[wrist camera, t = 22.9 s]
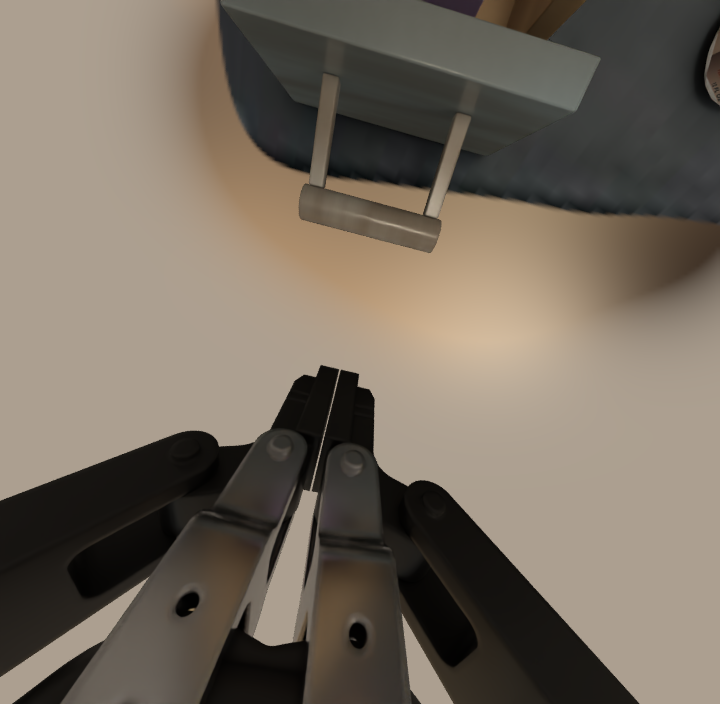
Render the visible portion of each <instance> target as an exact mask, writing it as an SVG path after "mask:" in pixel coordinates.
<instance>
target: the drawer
mask: <svg viewBox="0 0 720 704" xmlns="http://www.w3.org/2000/svg"><path fill="white" fill-rule="evenodd" d="M585 1H586V0H484V1H483V3H482V5H481V7H480V9H479V11H478V13H477V15H476V17H472V16H469V15H466V14H462V13H459V12H456V11H453V10H450V9H447V8H444V7H440V6H437V5H434V4H431V3H428V2H425V1H421V0H220V2H221V5H222V6H223V8H224V9H225V10H226V12H227V13H228V14H229V16H230V17H231V18H232V20H233V21H234V22H235V24H236V25H237V26H238V28H239V29H240V30H241V32H242V33H243V34H244V35H245V37H246V38H247V39H248V41H249V42H250V43H251V45H252V46H253V47H254V49H255V50H256V51H257V53H258V54H259V55H260V57H261V58H262V59H263V61H264V62H265V63H266V65H267V66H268V67H269V69H270V70H271V71H272V73H273V74H274V75H275V77H276V78H277V79H278V81H279V82H280V83H281V85H282V86H283V87H284V88H285V90H286V91H287V92H288V94H289V95H290V96H291V98H292V99H293V100H294V101H295V102H299V103H302V104H306V105H309V106H313V107H316V108H318V115H317V123H316V131H315V139H314V147H313V155H312V163H311V171H310V179H309V184H310V185H309V184H304V186H303V188H302V190H301V194H300V200H299V216H300V218H301V219H302V220H306V221H309V222H313V223H317V224H321V225H325V226H328V227H333V228H336V229H340V230H344V231H347V232H351V233H355V234H359V235H363V236H367V237H370V238H374V239H378V240H382V241H386V242H390V243H393V244H397V245H401V246H405V247H409V248H413V249H416V250H420V251H424V252H428V253H431V252H432V250H433V248H434V247H435V245H436V243H437V240H438V237H439V233H440V230H441V220H439V219H436V218H438V216H439V213H440V210H441V207H442V204H443V201H444V198H445V195H446V192H447V189H448V186H449V183H450V180H451V177H452V174H453V171H454V168H455V165H456V162H457V159H458V156H459V153H460V150H461V149H463V150H466V151H470V152H473V153H476V154H480V155H483V156H489V155H491V154H493V153H495V152H497V151H498V150H500V149H502V148H504V147H506V146H508V145H510V144H512V143H514V142H516V141H518V140H520V139H522V138H524V137H526V136H528V135H530V134H532V133H534V132H536V131H538V130H540V129H542V128H544V127H546V126H548V125H550V124H552V123H554V122H556V121H558V120H560V119H562V118H564V117H566V116H568V115H570V114H572V113H574V112H575V111H576V110H577V108H578V106H579V104H580V102H581V100H582V98H583V96H584V93H585V91H586V89H587V87H588V85H589V83H590V81H591V79H592V76H593V74H594V72H595V70H596V68H597V66H598V64H599V62H600V59H601V58H600V57H598V56H595V55H592V54H589V53H585V52H582V51H579V50H576V49H573V48H570V47H566V46H563V45H560V44H557V43H554V42H551V41H548V40H547V39H548V38H549V37H550V36H551V35H552V34H553V33H554V32H555V31H556V30H557V29H558V28H559V27H560V26H561V25H562V24H563V23H564V22H565V21H566V20H567V19H568V18H569V17H570V16H571V15H572V14H573V13H574V12H575V11H576V10H577V9H578V8H579V7H580V6H581V5H582V4H583V3H584V2H585ZM336 113H337V114H341V115H344V116H348V117H351V118H355V119H358V120H362V121H365V122H369V123H372V124H376V125H379V126H382V127H386V128H389V129H393V130H396V131H400V132H403V133H407V134H410V135H414V136H417V137H421V138H424V139H428V140H431V141H435V142H438V143H442V144H444V147H443V151H442V154H441V157H440V160H439V164H438V167H437V170H436V173H435V177H434V180H433V183H432V186H431V190H430V193H429V196H428V199H427V203H426V206H425V209H424V212H423V215H420V214H417V213H412V212H409V211H406V210H402V209H398V208H395V207H391V206H387V205H383V204H380V203H376V202H372V201H369V200H365V199H361V198H358V197H354V196H350V195H346V194H343V193H339V192H335V191H331V190H328V189H324V188H325V184H326V178H327V171H328V164H329V158H330V151H331V144H332V138H333V131H334V125H335V118H336Z"/></svg>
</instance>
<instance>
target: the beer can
mask: <svg viewBox="0 0 720 704" xmlns="http://www.w3.org/2000/svg"><path fill="white" fill-rule="evenodd" d="M704 79H705V87H706V89H707V91H708V93H709V95H710V97H711V99H712V100H713V101H714V102H716V103H717V104H718V105H720V28H719V29H718V31H717V33H716V35H715V37H714V40H713V42H712V45H711V47H710V49H709V52H708V55H707V61H706V67H705V73H704Z"/></svg>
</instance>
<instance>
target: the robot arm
mask: <svg viewBox="0 0 720 704" xmlns="http://www.w3.org/2000/svg"><path fill="white" fill-rule="evenodd" d="M338 372H339V369H336V368H331V367H327V366H323V365H321V366H320V368H319V371H318V374H317V376H316V377H312V376H308V375H303V376H301V377H300V378H298V379H297V380H295V381H294V383H293V386H292V388H291V390H290V392H289V393H288V395H287V397H286V400H285V401H284V403H283V405H282V407H281V409H280V412H279V413H278V416H277V417H276V419H275V421H274V423H273V425H272V427H271V429H270V430H269V431H267V432H265V433H263V434H261V435H260V436H259V437H258V438H257V440H256V441H255V442H253V443H250V444H246V445H239V446H221V447H219V445H218V442H217V440H216V439H215V438H214V437H213V436H212V435H210V434H208V433H206V432H202V431H185V432H181V433H177V434H175V435H172V436H169V437H167V438H164V439H161V440H159V441H156V442H153V443H151V444H148V445H146V446H143V447H140V448H138V449H135V450H132V451H130V452H127V453H124V454H122V455H119V456H117V457H114V458H112V459H109V460H106V461H104V462H101V463H98V464H96V465H93V466H90V467H88V468H85V469H82V470H80V471H78V472H75V473H72V474H70V475H67V476H64V477H62V478H59V479H56V480H54V481H51V482H48V483H46V484H43V485H41V486H38V487H35V488H33V489H30V490H27V491H25V492H22V493H19V494H17V495H14V496H12V497H9V498H6V499H4V500H1V501H0V677H1V676H3V675H4V674H6V673H7V672H8V671H10V670H11V669H13V668H14V667H16V666H17V665H19V664H20V663H22V662H23V661H25V660H26V659H28V658H29V657H31V656H32V655H33V654H35V653H37V652H38V651H39V650H41V649H43V648H44V647H46V646H47V645H49V644H50V643H51V642H53V641H54V640H56V639H57V638H59V637H60V636H62V635H63V634H65V633H66V632H68V631H69V630H70V629H72V628H74V627H75V626H77V625H78V624H80V623H81V622H83V621H84V620H86V619H87V618H88V617H90V616H92V615H93V614H95V613H96V612H97V611H99V610H100V609H102V608H103V607H105V606H106V605H108V604H109V603H111V602H112V601H114V600H115V599H117V598H118V597H120V596H121V595H123V594H124V593H126V592H127V591H129V590H130V589H132V588H133V587H134V586H136V585H138V584H139V583H141V582H142V581H143V580H145V579H146V578H148V577H149V576H150V577H149V578H148V580H147V581H146V583H145V584H144V586H143V587H142V588H141V590H140V591H139V593H138V594H137V596H136V597H135V598H134V600H133V601H132V603H131V604H130V605H129V607H128V608H127V610H126V611H125V612H124V614H123V615H122V617H121V618H120V620H119V621H118V622H117V624H116V625H115V627H114V628H113V630H112V631H111V633H110V634H109V635H108V637H107V638H106V639H105V640H104V641H102V642H100V643H98V644H97V645H95V646H93V647H91V648H89V649H87V650H86V651H84V652H83V653H81V654H80V655H78V656H77V657H75V658H73V659H72V660H70V661H69V662H67V663H66V664H64V665H63V666H62V667H60V668H59V669H58V670H56V671H55V672H53V673H52V674H51V675H49V676H48V677H47V678H46V679H44V680H43V681H42V682H40V683H39V684H38V685H36V686H35V687H34V688H32V689H31V690H30V691H28V692H27V693H26V694H25V695H24V696H22V697H21V698H20V699H18V700H17V701H15V702H14V703H13V704H421V703H420V702H419V701H418V699H417V698H416V696H415V695H414V694H413V692H412V691H411V690H410V685H409V676H408V667H407V657H406V649H405V639H404V631H403V621H402V614H403V616H404V618H405V619H406V621H407V623H408V625H409V626H410V628H411V630H412V632H413V633H414V635H415V637H416V639H417V640H418V642H419V644H420V645H421V647H422V649H423V651H424V652H425V654H426V656H427V658H428V659H429V661H430V663H431V665H432V666H433V668H434V670H435V671H436V673H437V675H438V677H439V679H440V680H441V682H442V684H443V686H444V687H445V689H446V691H447V692H448V694H449V696H450V698H451V700H452V701H453V703H454V704H639V703H638V702H637V700H636V699H635V698H634V697H633V696H632V695H631V694H630V693H629V692H628V691H627V690H626V688H625V687H624V686H623V685H622V684H621V683H620V682H619V681H618V679H617V678H616V677H615V676H614V675H613V674H612V673H611V672H610V671H609V670H608V668H607V667H606V666H605V665H604V664H603V663H602V662H601V661H600V660H599V659H598V657H597V656H596V655H595V654H594V653H593V652H592V651H591V650H590V649H589V648H588V646H587V645H586V644H585V643H584V642H583V641H582V640H581V639H580V638H579V637H578V635H577V634H576V633H575V632H574V631H573V630H572V629H571V628H570V627H569V625H568V624H567V623H566V622H565V621H564V620H563V619H562V618H561V617H560V616H559V614H558V613H557V612H556V611H555V610H554V609H553V608H552V607H551V606H550V605H549V603H548V602H547V601H546V600H545V599H544V598H543V597H542V596H541V595H540V594H539V592H538V591H537V590H536V589H535V588H534V587H533V586H532V585H531V584H530V583H529V581H528V580H527V579H526V578H525V577H524V576H523V575H522V574H521V573H520V572H519V570H518V569H517V568H516V567H515V566H514V565H513V564H512V563H511V562H510V561H509V559H508V558H507V557H506V556H505V555H504V554H503V553H502V552H501V551H500V550H499V548H498V547H497V546H496V545H495V544H494V543H493V542H492V541H491V540H490V538H489V537H488V536H487V535H486V534H485V533H484V532H483V531H482V530H481V529H480V528H479V526H478V525H477V524H476V523H475V522H474V521H473V520H472V519H471V518H470V516H469V515H468V514H467V513H466V512H465V511H464V510H463V509H462V508H461V507H460V505H459V504H458V503H457V502H456V501H455V500H454V499H453V498H452V497H451V496H450V494H449V493H448V492H447V491H446V490H444V489H443V488H442V487H440V486H439V485H437V484H435V483H433V482H430V481H425V480H424V481H422V480H420V481H415V482H413V483H411V484H410V485H409V486H406V485H404V484H403V483H401V482H399V481H397V480H395V479H393V478H392V477H390V476H388V475H387V474H386V473H385V472H383V470H382V469H381V468H380V467H379V466H378V464H377V461H376V459H375V457H374V453H373V446H374V401H375V400H374V397H373V395H372V393H371V391H370V390H369V389H364V388H361V387H357V386H358V378H359V374H357V373H353V372H349V371H344V370H341V371H340V375H339V379H338V383H337V387H336V391H335V396H334V400H333V404H332V408H331V412H330V416H329V420H328V424H327V428H326V432H325V437H324V441H323V445H322V449H321V454H320V458H319V462H318V467H317V471H316V475H315V479H314V484H313V489H312V491H313V492H318V495H317V500H316V505H315V509H314V513H313V518H312V522H311V529H310V536H309V543H308V550H307V557H306V564H305V571H304V578H303V585H302V592H301V598H300V605H299V609H298V614H297V620H296V626H295V631H294V637H293V643H288V644H282V645H277V646H267V645H265V644H263V643H261V642H260V641H258V640H256V639H254V638H253V635H254V632H255V629H256V626H257V623H258V620H259V617H260V614H261V611H262V607H263V603H264V600H265V596H266V593H267V590H268V587H269V584H270V581H271V579H272V576H273V573H274V570H275V568H276V565H277V562H278V559H279V557H280V554H281V551H282V548H283V545H284V543H285V540H286V537H287V534H288V532H289V528H290V526H291V523H292V520H293V518H294V514H295V511H296V510H297V508H298V505H299V502H300V498H301V495H302V491H303V490H308V491H310V487H311V483H312V479H313V475H314V471H315V467H316V463H317V459H318V455H319V451H320V447H321V443H322V439H323V435H324V431H325V427H326V423H327V419H328V415H329V411H330V407H331V403H332V398H333V394H334V389H335V385H336V381H337V377H338Z"/></svg>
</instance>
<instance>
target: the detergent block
mask: <svg viewBox="0 0 720 704" xmlns="http://www.w3.org/2000/svg"><path fill="white" fill-rule="evenodd" d="M421 1H425V2H428V3H431V4H434V5H437V6H440V7H444V8H447V9H450V10H453V11H456V12H459V13H462V14H466V15H469V16H472V17H476V15H477V13H478V11H479V9H480V7H481V5H482V3H483V1H484V0H421Z"/></svg>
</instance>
